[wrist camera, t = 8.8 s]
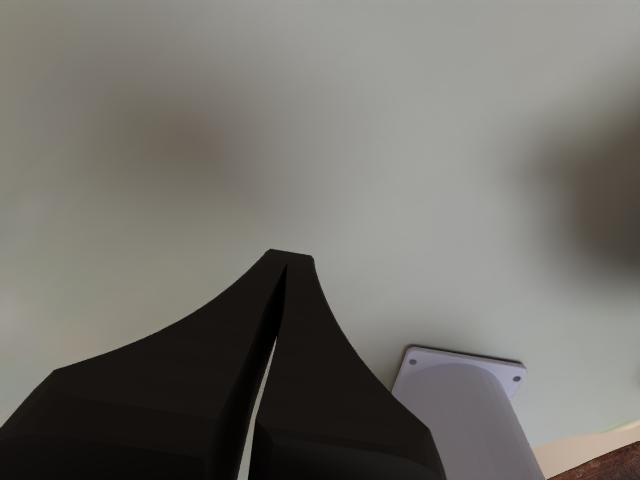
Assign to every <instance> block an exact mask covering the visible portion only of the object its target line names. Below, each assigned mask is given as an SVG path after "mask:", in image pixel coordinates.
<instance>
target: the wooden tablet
mask: <svg viewBox="0 0 640 480" xmlns="http://www.w3.org/2000/svg"><path fill="white" fill-rule="evenodd" d="M547 480H640V441H637V442H635V443H632V444H629V445H626V446H624V447H621V448H619V449H616V450H614V451H611V452H609V453H607V454H604V455H602V456H599V457H597V458H594V459H592V460H590V461H588V462H586V463H583V464H581V465H579V466H577V467H575V468H572V469H570V470H568V471H565V472H563V473H561V474H558V475H556V476H554V477H552V478H549V479H547Z"/></svg>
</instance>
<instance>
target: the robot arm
mask: <svg viewBox="0 0 640 480" xmlns="http://www.w3.org/2000/svg"><path fill="white" fill-rule="evenodd" d="M276 336H277V339H276ZM275 340H276V346H275V350H274V354H273V358H272V362H271V365H270V369H269V373H268V377H267V381H266V384H265V388H264V391H263V395H262V398H261V402H260V405H259V409H258V412H257V416H256V419H255V427H254V435H253V443H252V451H251V459H250V467H249V475H248V480H545V478H544V475H543V473H542V472H541V469H540V467H539V465H538V462H537V460H536V458H535V456H534V454H533V451H532V449H531V447H530V445H529V443H528V441H527V438H526V436H525V434H524V432H523V430H522V427H521V425H520V423H519V421H518V419H517V417H516V414H515V412H514V410H513V408H512V406H511V403H510V401H511V400H512V398H513V396H514V395H515V393H516V392H517V390H518V388H519V387H520V385H521V383H522V382H523V380H524V378H525V377H526V375H527V373H528V371H527V369H526V367H525V366H524V365H522V364H517V363H511V362H505V361H499V360H493V359H486V358H480V357H474V356H468V355H462V354H456V353H450V352H443V351H437V350H431V349H425V348H419V347H412V348H409V349H408V350H407V352H406V355H405V357H404V360H403V363H402V365H401V368H400V371H399V373H398V376H397V379H396V381H395V384H394V387H393V389H392V392H391V393H390V392H389V391H388V390H387V389H386V387H385V386H384V385H383V384H382V383H381V382H380V381H379V380H378V379H377V378H376V377H375V375H374V374H373V373H372V372H371V370H370V369H369V368H368V367H367V366H366V364H365V363H364V362H363V361H362V360H361V358H360V357H359V356H358V354H357V353H356V351H355V350H354V348H353V347H352V346H351V344H350V343H349V341H348V340H347V338H346V336H345V335H344V333H343V332H342V330H341V328H340V326H339V325H338V323H337V321H336V319H335V317H334V315H333V313H332V311H331V309H330V307H329V305H328V303H327V301H326V298H325V296H324V293H323V291H322V288H321V286H320V283H319V280H318V276H317V273H316V269H315V264H314V259H313V257H312V256H311V255H305V254H299V253H293V252H287V251H281V250H275V249H269V250H268V251H266V252H265V254H264V255H263V256H262V257H261V258H260V259H259V260H258V261H257V262H256V263H255V264H254V265H253V266H252V267H251V268H250V269H249V270H248V271H247V272H246V273H245V274H244V275H243V276H241V277H240V278H239V279H238V280H237V281H236V282H235V283H233V284H232V285H231V286H230V287H228V288H227V289H226V290H225V291H223V292H222V293H221V294H219V295H218V296H217V297H216V298H214V299H213V300H211V301H210V302H209V303H207V304H206V305H204V306H203V307H201V308H200V309H198V310H196V311H195V312H193V313H192V314H190V315H188V316H187V317H185V318H183V319H181V320H179V321H178V322H176V323H174V324H172V325H170V326H168V327H166V328H164V329H162V330H160V331H158V332H156V333H154V334H152V335H150V336H147V337H145V338H143V339H140V340H138V341H136V342H133V343H131V344H128V345H126V346H123V347H121V348H118V349H116V350H113V351H110V352H108V353H105V354H102V355H99V356H96V357H93V358H90V359H87V360H84V361H81V362H78V363H75V364H72V365H69V366H66V367H62V368H59V369H56V370H54V371H53V372H52V373H51V374H50V375H49V376H48V377H47V378H46V379H45V380H44V381H43V382H42V383H41V384H39V385H38V386H37V387H36V388H35V389H34V390H33V391H32V393H31V394H30V395H29V396H28V397H27V398H26V399H25V400H24V402H23V403H22V404H21V405H20V406H19V407H18V408H17V410H16V411H15V412H14V413H13V414H12V415H11V416H10V418H9V419H8V420H7V421H6V422H5V423H4V424H3V426H2V427H1V428H0V480H237V478H238V473H239V469H240V464H241V460H242V455H243V451H244V446H245V442H246V437H247V433H248V429H249V424H250V420H251V415H252V412H253V408H254V405H255V401H256V398H257V395H258V392H259V389H260V386H261V383H262V380H263V376H264V373H265V370H266V367H267V364H268V361H269V358H270V355H271V352H272V349H273V346H274V343H275ZM411 359H415V360H411ZM515 376H516V377H515Z"/></svg>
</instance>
